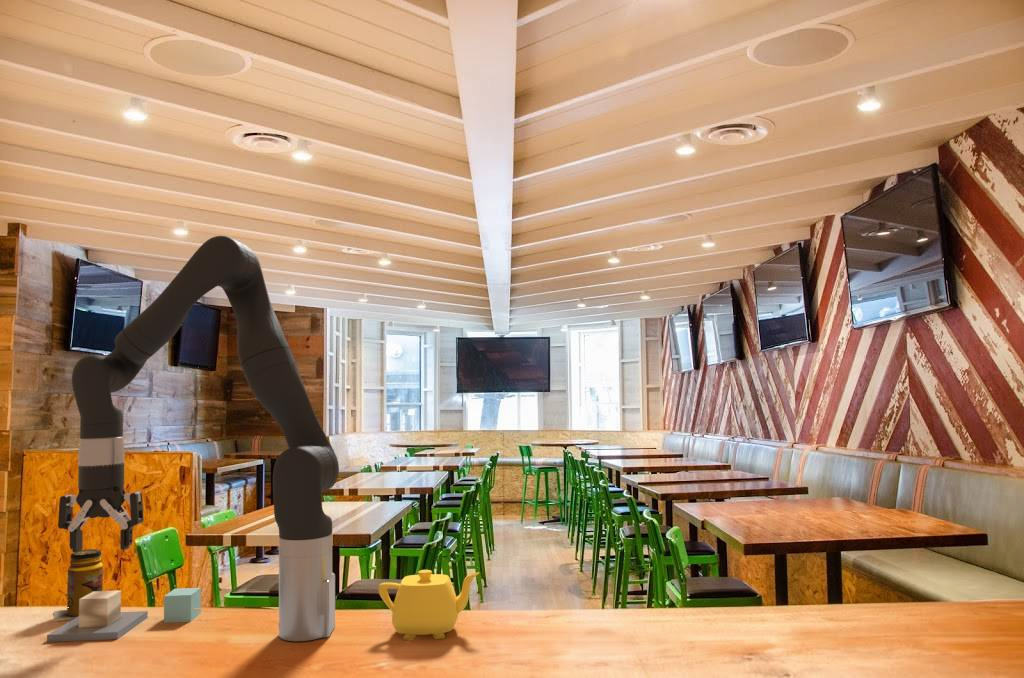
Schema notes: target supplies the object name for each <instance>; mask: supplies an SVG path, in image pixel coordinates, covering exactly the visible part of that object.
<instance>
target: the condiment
mask: <svg viewBox="0 0 1024 678" xmlns="http://www.w3.org/2000/svg"><path fill="white" fill-rule="evenodd" d="M101 560H102V551H101V550H100V549H96V548H95V549H93V548H91V549H90V548H89V549H82V550H81V551H79V552H73V551H72V553H71V554H70V561H69V564H70V565H69V567H68V569H67V594H66V595H67V597H66V599H67V601H66V609H60V610H54V611H53V619H54V623H56V622H59V621H66V620H73V619H75V618H77V617H78V616H79V599H81V598H82V597H84V596H86V595H88V594H90V593H92V592H93V591H104V589H103V585H104V583H103V581H104V580H103V579H104V576H103V573H104V565H103V562H101ZM67 607H69V608H67Z"/></svg>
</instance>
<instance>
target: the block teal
mask: <svg viewBox="0 0 1024 678" xmlns="http://www.w3.org/2000/svg"><path fill="white" fill-rule="evenodd" d="M194 608H201V609H194ZM201 614H202V587H188V588H186V587H183V588H173V589H172V590H171V591H169V592H168V593H167V594H165V595H163V623H164V624H165V623H186V622H189V623H190V622H192V621H194V620H195V619H196V618H198V617H199V616H200V615H201Z"/></svg>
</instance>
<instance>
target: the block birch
mask: <svg viewBox="0 0 1024 678" xmlns="http://www.w3.org/2000/svg"><path fill="white" fill-rule="evenodd" d="M121 607H122V590H102V591H93V592H92V593H90V594H88V595H86V596H84V597H82V598H81V599H79V627H104V626H109V625H110V624H112V623H113V622H115V621H116V620H118V619H119V618H121V612H122V611H121Z"/></svg>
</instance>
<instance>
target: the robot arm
mask: <svg viewBox="0 0 1024 678" xmlns="http://www.w3.org/2000/svg"><path fill="white" fill-rule="evenodd" d="M216 287H219V288H221V289H222V291H224V293H225V295H226V297H227V299H228V301H229V304H230V306H231V308H232V311H233V314H234V318H235V322H236V329H237V330H236V332H237V334H236V335H237V337H236V349H237V357H238V361H239V364H240V366H241V370H242V371H243V374H244V377H245V379H246V382H247V384H248V386H249V389H250V390H251V392H252V394H253V395H254V397H255V398H256V400H258V402H259V403H260V404H261V405H262V407H263V408H264V409H265V410H266V411H267V413H268V414H269V415H270V416H271V417H272V419H273V420H274V421H275V422H276V423H277V425H278V427H279V428H280V431H281V432H282V434H283V436H284V438H285V441H286V445H287V447H288V448H287V449H285V450H283V451H282V452H281V453H280V454H279V455H278V456H277V459H276V460H275V463H274V467H273V472H272V492H273V493H272V495H273V496H272V497H273V514H274V521H275V522H276V525H277V528H278V554H279V555H278V637H279V638H280V639H281V640H284V641H289V642H307V641H312V640H313V641H314V640H317V639H323V638H329V637H330V636H331V634H332V632H333V631H334V628H336V574H335V573H334V572H333V519H332V517H331V516H329V515H327V514H325V512H324V510H323V499H322V496H323V495H322V493H325V492H327V491H329V490H330V489H332V488H333V487H334V486H335V484H336V483H337V480H338V477H339V472H340V466H339V460H338V457H337V455H336V452H335V450H334V448H333V446H332V444H331V442H330V440H329V439H328V437H327V434H326V433H325V431H324V429H323V427H322V426H321V423H320V421H319V420H318V417H317V415H316V413H315V411H314V408H313V405H312V402H311V399H310V397H309V394H308V392H307V390H306V388H305V385H304V382H303V379H302V378H301V374H300V371H299V369H298V366H297V362H296V360H295V358H294V355H293V353H292V350H291V347H290V345H289V342H288V341H287V338H286V336H285V334H284V331H283V328H282V326H281V323H280V321H279V319H278V317H277V314H276V312H275V310H274V308H273V304H272V303H271V300H270V297H269V292H268V289H267V286H266V282H265V278H264V274H263V271H262V267H261V263H260V260H259V259H258V256H257V255H256V253H255V252H254V251H253V250H252V249H251V248H250V247H249V246H247V245H246V244H244V243H242V242H240V241H238V240H237V239H234V238H232V237H229V236H227V235H217V236H216V235H215V236H213V237H210V238H209V239H207V240H206V241H205V242H203V244H202V245H200V246H199V248H197V250H196V251H195V252H194V253H193V255H191V257H190V258H189V259H188V261H187V262H186V263H185V264H184V266H183V267H182V268H181V269H180V271H179V272H178V273H177V274H176V275H175V277H174V278H173V279H172V281H170V283H169V284H168V285H167V286H166V287H165V289H164V290H163V291H162V292H161V293H160V294H159V296H158V297H156V298H155V300H154V301H153V302H152V303H151V304H149V306H148V307H147V308H146V309H144V311H142V312H141V313H140V314H139V315H137V316H136V317H135V318H134V319H133V320H132V321H131V322H129V323H128V324H127V325H126V326H125V327H124V328H123V329H122V330H120V331H119V333H118V334H117V335H116V336H115V338H114V346H115V348H114V349H113V350H112V351H111V352H110V353H109V354H107V355H98V354H90V355H86V356H85V355H84V356H83V357H82V358H80V359H79V360H78V361H77V362H76V364H75V365H74V367H73V370H72V373H71V374H72V375H71V386H72V391H73V396H74V399H75V403H76V408H77V409H78V413H79V416H80V418H79V419H80V422H79V423H80V424H79V425H80V427H79V431H80V432H79V438H80V439H79V446H78V454H77V455H78V457H77V463H78V467H77V470H78V472H77V487H78V493H77V494H76V495H74V494H72V493H70V494H65V495H62V496H60V498H59V503H58V505H59V506H58V507H59V508H58V519H57V528H58V529H60V530H63V529H64V530H67V531H68V532H69V549H70V550H71V551H72V553H73V552H79V551H81V550H83V546H84V544H83V541H84V540H83V538H84V537H83V532H84V531H83V529H81V528H82V527H83V526H84V525H85V523H86V522H87V521H88V520H89V519H95V518H110V517H111V519H112V520H113V521H115V522H116V523H117V524H118V525H119V526H120V528H121V529H120V530H119V531H120V534H119V535H120V539H119V541H120V543H119V545H120V546H119V547H120V549H119V550H120V551H124V550H127V549H129V548H130V546H132V544H133V540H134V539H133V537H134V536H133V534H134V533H133V531H134V529H133V528H134V527H135V526H137V525H139V524H142V523H143V522H144V521H145V519H144V501H143V492H142V491H141V490H138V491H135V492H128V493H126V492H125V489H124V488H125V444H124V443H125V442H124V413H123V410H122V409H121V408H120V407H119V406H117V405H116V404H114V403H113V399H112V393H116V392H119V391H120V390H122V389H124V388H126V387H127V386H128V385H129V384H130V383H131V382H132V381H133V380H134V379H135V378H136V377H137V375H138V374H139V373H140V371H141V370H142V369H143V368H144V365H145V364H146V363H147V361H148V360H149V359H151V357H153V356H154V355H155V354H156V353H157V352H158V351H160V350H161V349H162V348H163V347H164V346H165V345H167V343H168V342H169V341H170V340H172V338H173V337H174V336H175V335H176V334H177V332H178V331H179V330H180V328H181V326H182V325H183V323H184V321H185V319H186V317H187V315H188V314H189V312H190V311H191V309H192V308H193V307H194V305H195V304H196V303H197V302H198V301H200V299H201V298H202V297H203V296H205V295H206V294H208V293H209V292H210V291H212V290H213V289H215V288H216ZM125 502H127V504H128V505H129V507H130V508H129V509H130V515H129V513H128V511H127V510H126V508H124V506H123V504H124V503H125ZM76 503H77V505H78V506H79V507H80V510H79V511H78V513H76V515H75V516H74V518H73V512H74V507H75V505H76Z"/></svg>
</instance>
